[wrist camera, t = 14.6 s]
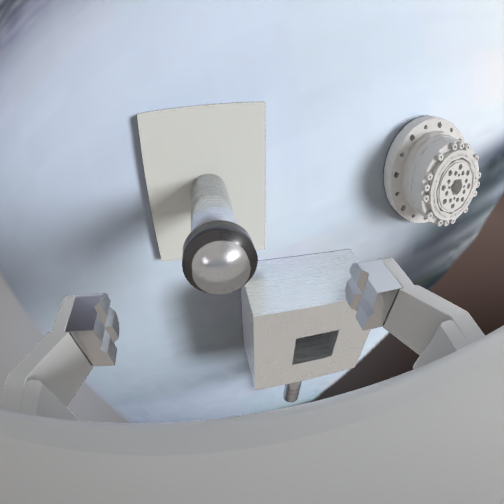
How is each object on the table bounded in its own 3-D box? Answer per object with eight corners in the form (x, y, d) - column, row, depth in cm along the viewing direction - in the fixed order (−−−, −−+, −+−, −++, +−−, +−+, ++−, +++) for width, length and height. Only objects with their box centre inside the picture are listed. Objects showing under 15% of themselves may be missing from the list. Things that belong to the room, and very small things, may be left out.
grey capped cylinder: (182, 170, 18) (176, 243, 11) (230, 165, 19) (260, 233, 11) (187, 214, 20) (188, 305, 13) (233, 209, 20) (260, 295, 13)
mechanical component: (375, 222, 25) (448, 211, 26) (402, 248, 21) (475, 232, 22) (385, 110, 19) (463, 119, 20) (422, 122, 15) (496, 133, 16)
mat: (138, 113, 16) (136, 114, 15) (263, 101, 17) (265, 102, 17) (162, 257, 22) (161, 261, 22) (263, 245, 23) (265, 249, 23)
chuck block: (239, 263, 24) (253, 316, 19) (350, 248, 25) (383, 292, 20) (246, 383, 35) (255, 424, 30) (320, 369, 36) (336, 406, 31)
